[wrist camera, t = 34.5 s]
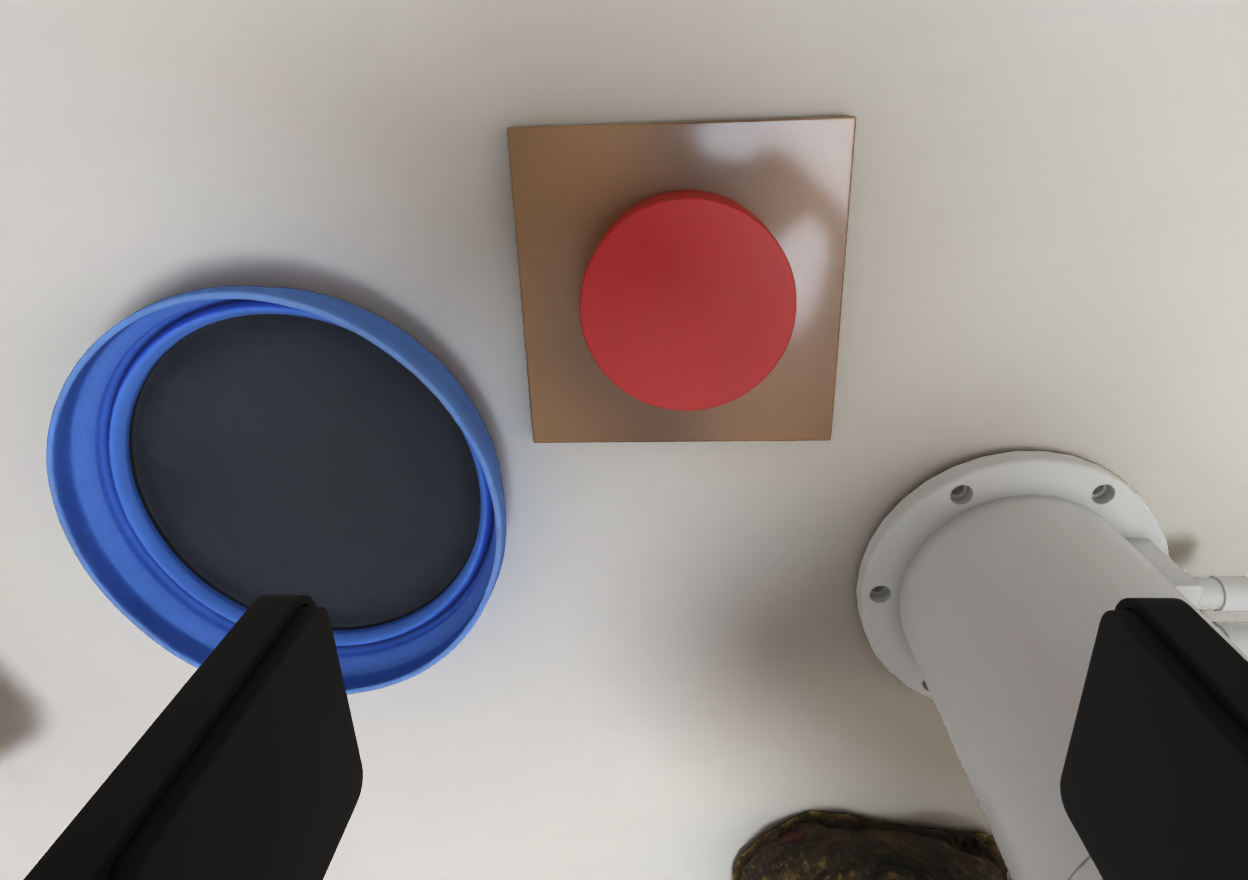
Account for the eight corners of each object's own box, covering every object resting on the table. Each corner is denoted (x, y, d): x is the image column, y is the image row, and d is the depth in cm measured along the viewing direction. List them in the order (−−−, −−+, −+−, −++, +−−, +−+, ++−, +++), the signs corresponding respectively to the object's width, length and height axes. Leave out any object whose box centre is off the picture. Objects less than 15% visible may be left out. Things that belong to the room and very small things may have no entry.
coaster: (851, 115, 27) (856, 116, 27) (827, 433, 32) (831, 441, 31) (510, 127, 28) (506, 127, 27) (536, 435, 33) (533, 443, 32)
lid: (589, 389, 31) (582, 412, 29) (578, 192, 28) (570, 200, 26) (782, 387, 31) (791, 410, 28) (792, 186, 28) (803, 194, 25)
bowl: (37, 492, 35) (-27, 532, 32) (232, 172, 29) (178, 182, 26) (370, 709, 39) (343, 764, 36) (602, 467, 33) (595, 507, 30)
